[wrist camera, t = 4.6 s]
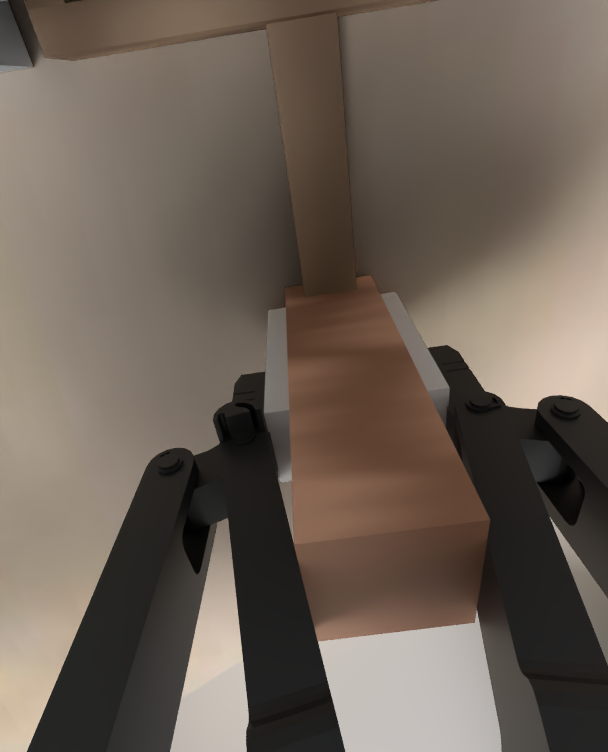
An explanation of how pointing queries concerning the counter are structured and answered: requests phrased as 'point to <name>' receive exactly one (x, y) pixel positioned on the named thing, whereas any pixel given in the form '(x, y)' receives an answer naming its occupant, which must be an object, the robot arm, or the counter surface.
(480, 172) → the counter surface
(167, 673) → the robot arm
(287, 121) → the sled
